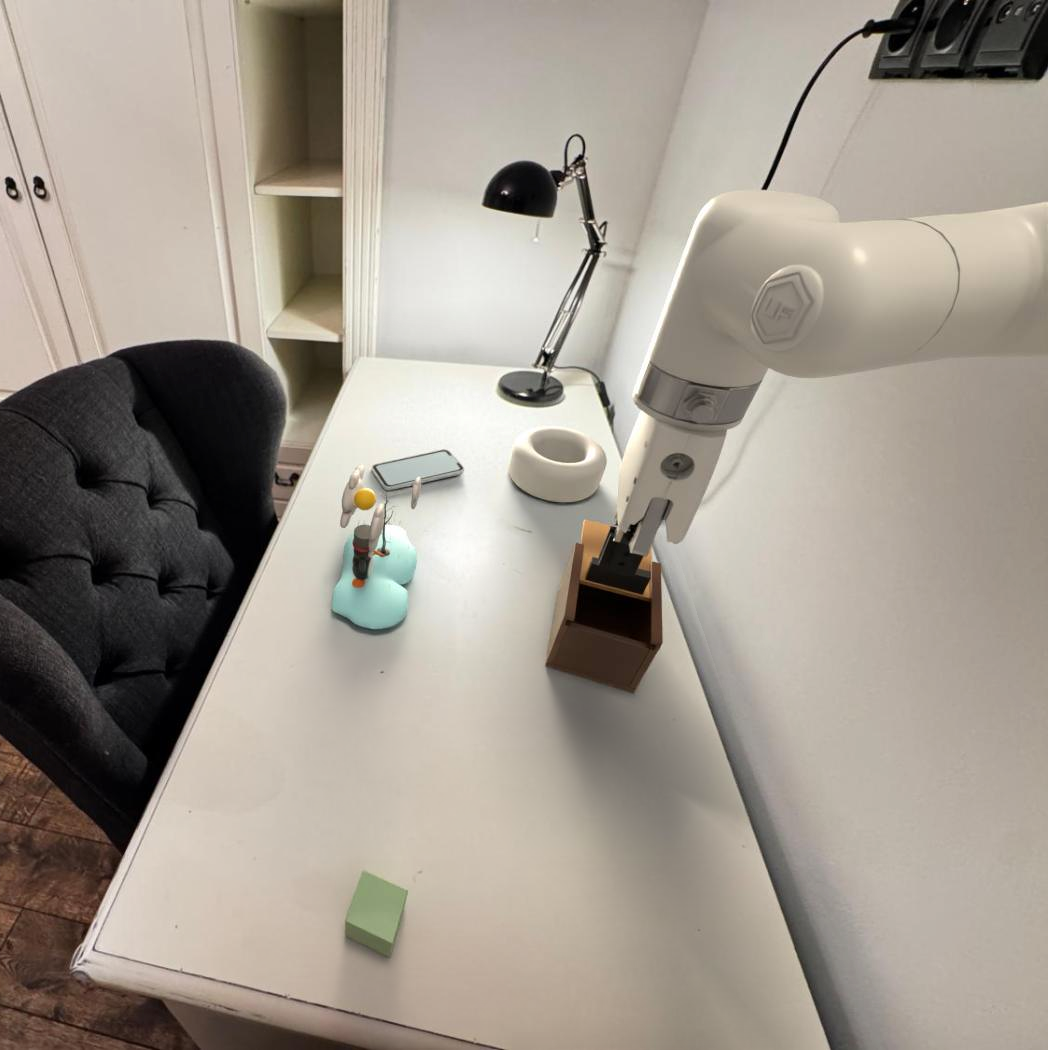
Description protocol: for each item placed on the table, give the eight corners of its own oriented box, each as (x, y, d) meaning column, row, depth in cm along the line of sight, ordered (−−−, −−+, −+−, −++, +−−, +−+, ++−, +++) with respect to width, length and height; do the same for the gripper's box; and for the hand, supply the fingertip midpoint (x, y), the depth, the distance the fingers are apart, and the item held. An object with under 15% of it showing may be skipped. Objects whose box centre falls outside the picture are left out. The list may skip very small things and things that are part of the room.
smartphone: (369, 465, 99) (447, 448, 103) (369, 469, 100) (446, 452, 103) (385, 488, 94) (466, 470, 98) (385, 493, 95) (465, 474, 98)
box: (633, 693, 66) (662, 643, 60) (544, 665, 68) (564, 615, 62) (635, 613, 75) (661, 563, 69) (557, 592, 78) (575, 542, 72)
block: (405, 905, 49) (408, 889, 47) (390, 958, 46) (392, 944, 44) (362, 886, 50) (363, 869, 48) (344, 935, 48) (344, 921, 45)
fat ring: (513, 448, 105) (520, 416, 101) (598, 464, 101) (609, 431, 97) (501, 494, 94) (509, 461, 90) (596, 514, 90) (609, 480, 86)
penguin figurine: (402, 641, 71) (411, 552, 61) (319, 625, 73) (316, 537, 63) (421, 537, 86) (432, 453, 76) (353, 527, 88) (354, 443, 78)
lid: (650, 602, 66) (660, 581, 64) (574, 582, 68) (582, 561, 66) (650, 538, 74) (659, 518, 72) (583, 522, 77) (590, 502, 74)
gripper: (770, 450, 35) (662, 637, 47) (736, 355, 46) (655, 527, 58) (640, 427, 37) (568, 613, 49) (636, 342, 48) (578, 511, 60)
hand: (615, 566), depth 53 cm, fingers closed
